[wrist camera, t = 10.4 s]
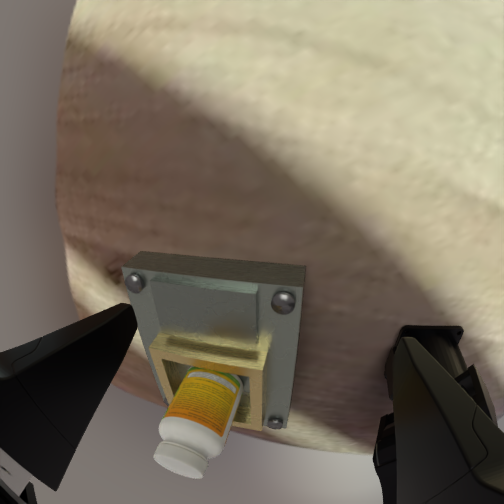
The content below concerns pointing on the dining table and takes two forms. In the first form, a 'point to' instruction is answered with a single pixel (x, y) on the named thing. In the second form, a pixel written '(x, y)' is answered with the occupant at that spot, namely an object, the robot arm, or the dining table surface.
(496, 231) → the dining table surface
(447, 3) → the dining table surface
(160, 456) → the supplement bottle
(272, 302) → the grey fixture plate
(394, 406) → the robot arm
